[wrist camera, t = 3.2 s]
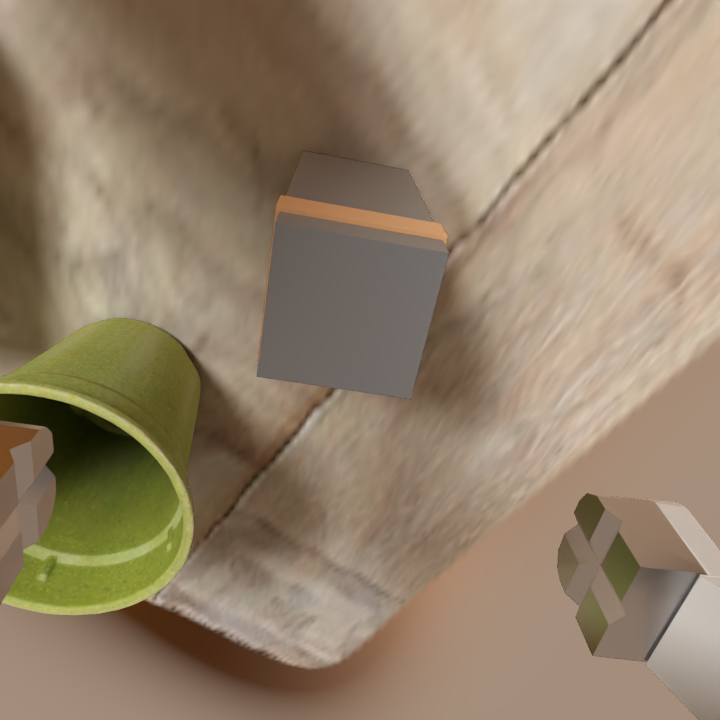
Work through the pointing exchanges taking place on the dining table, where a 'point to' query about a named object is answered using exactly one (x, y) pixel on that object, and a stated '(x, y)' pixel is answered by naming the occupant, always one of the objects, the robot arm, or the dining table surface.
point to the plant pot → (108, 466)
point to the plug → (350, 278)
